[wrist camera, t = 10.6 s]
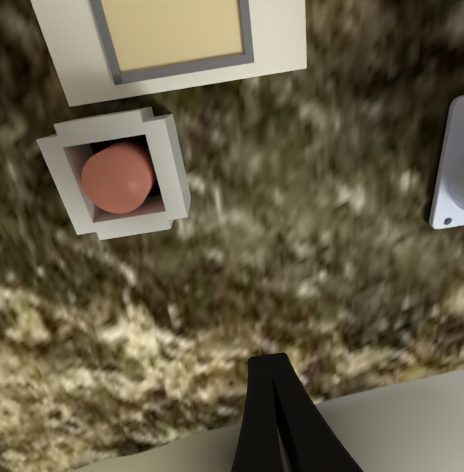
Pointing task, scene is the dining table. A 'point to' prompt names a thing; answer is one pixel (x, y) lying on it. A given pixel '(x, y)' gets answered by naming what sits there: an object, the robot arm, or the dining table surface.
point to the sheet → (167, 43)
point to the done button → (119, 177)
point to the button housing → (79, 151)
